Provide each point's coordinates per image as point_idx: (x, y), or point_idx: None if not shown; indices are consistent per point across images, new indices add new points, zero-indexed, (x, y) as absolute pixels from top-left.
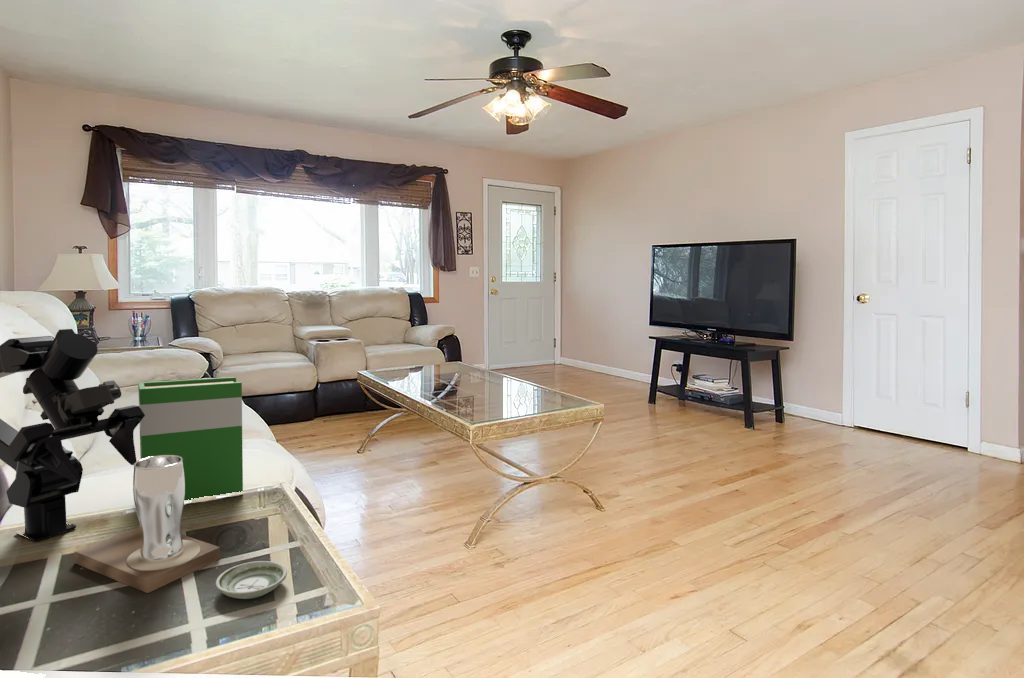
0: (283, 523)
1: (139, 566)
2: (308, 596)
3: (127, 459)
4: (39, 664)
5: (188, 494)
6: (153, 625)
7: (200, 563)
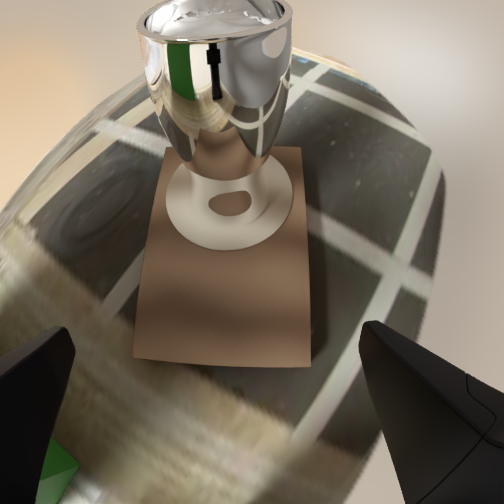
0: (44, 184)
1: (283, 185)
2: None
3: (61, 379)
4: (428, 148)
5: None
6: (332, 109)
7: None
